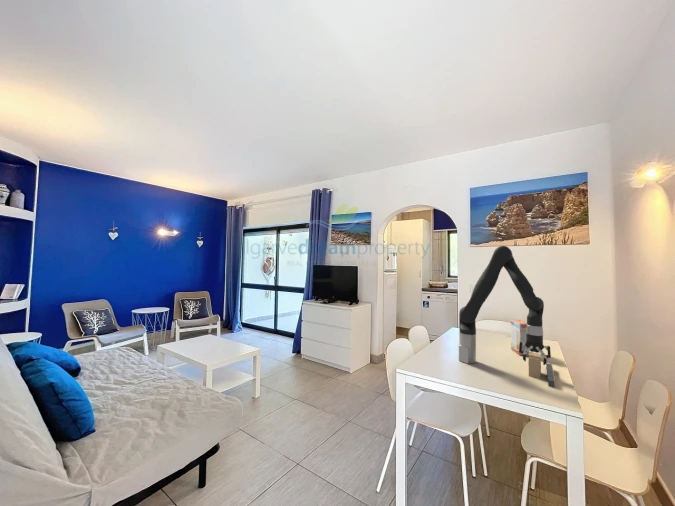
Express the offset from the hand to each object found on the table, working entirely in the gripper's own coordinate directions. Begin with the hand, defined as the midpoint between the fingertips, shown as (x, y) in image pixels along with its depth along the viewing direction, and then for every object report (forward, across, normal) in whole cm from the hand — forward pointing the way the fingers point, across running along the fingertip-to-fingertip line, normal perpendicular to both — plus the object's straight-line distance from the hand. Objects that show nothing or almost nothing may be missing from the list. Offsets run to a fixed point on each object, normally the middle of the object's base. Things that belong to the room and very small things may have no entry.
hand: (534, 362), depth 152 cm
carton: (+6, 0, 0) cm, 6 cm away
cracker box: (+6, +8, -38) cm, 40 cm away
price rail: (+6, -7, 0) cm, 9 cm away
